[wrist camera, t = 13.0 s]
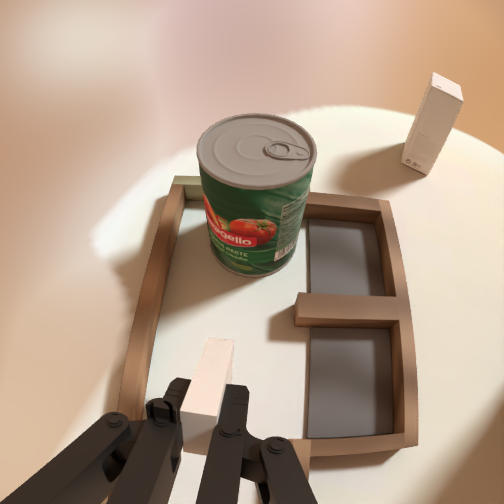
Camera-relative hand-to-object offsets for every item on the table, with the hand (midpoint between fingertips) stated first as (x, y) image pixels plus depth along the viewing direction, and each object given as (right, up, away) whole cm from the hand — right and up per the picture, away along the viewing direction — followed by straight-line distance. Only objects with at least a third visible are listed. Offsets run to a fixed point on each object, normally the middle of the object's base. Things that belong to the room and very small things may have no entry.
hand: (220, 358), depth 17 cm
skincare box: (+24, +19, +19) cm, 36 cm away
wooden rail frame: (+4, -1, +6) cm, 7 cm away
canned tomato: (+2, +7, +11) cm, 14 cm away
